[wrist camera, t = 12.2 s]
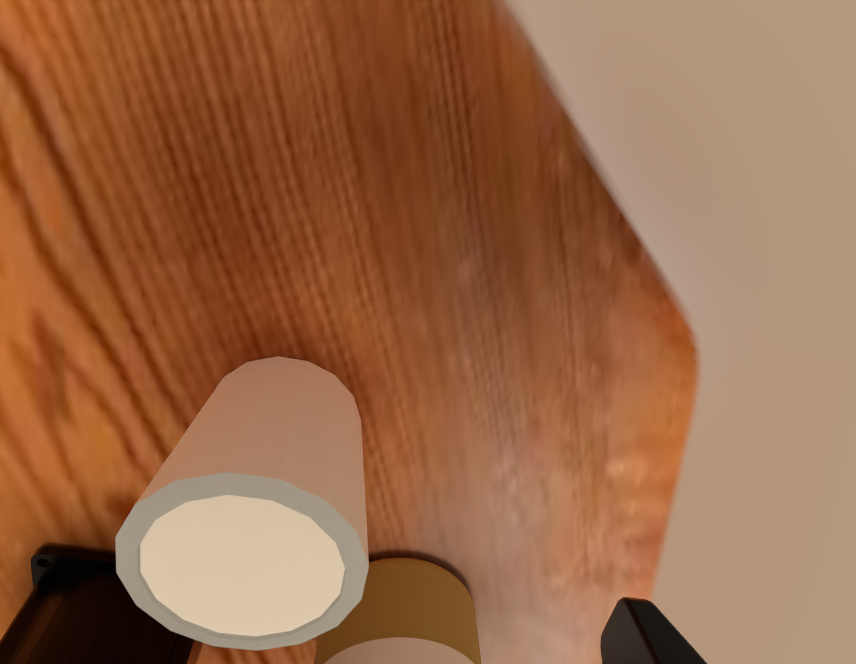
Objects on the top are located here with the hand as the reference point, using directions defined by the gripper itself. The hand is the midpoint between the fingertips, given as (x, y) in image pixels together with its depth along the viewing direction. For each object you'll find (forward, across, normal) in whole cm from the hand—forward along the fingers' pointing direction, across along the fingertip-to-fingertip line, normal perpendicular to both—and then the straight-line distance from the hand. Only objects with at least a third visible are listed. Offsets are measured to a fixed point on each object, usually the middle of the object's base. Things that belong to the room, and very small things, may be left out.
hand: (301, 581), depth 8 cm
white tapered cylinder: (+13, +2, +8) cm, 15 cm away
